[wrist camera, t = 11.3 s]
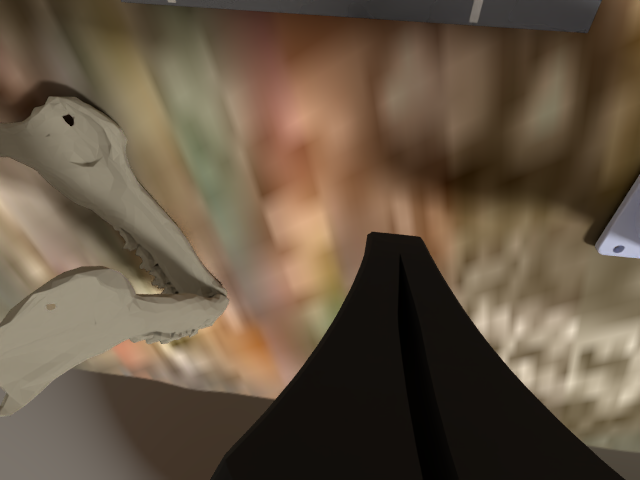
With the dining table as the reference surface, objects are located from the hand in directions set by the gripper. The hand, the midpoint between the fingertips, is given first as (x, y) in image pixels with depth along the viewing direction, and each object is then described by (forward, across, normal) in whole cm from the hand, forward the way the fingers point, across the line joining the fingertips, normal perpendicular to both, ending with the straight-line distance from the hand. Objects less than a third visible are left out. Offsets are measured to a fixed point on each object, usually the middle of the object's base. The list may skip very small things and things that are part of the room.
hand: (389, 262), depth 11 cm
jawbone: (+10, +12, +7) cm, 17 cm away
